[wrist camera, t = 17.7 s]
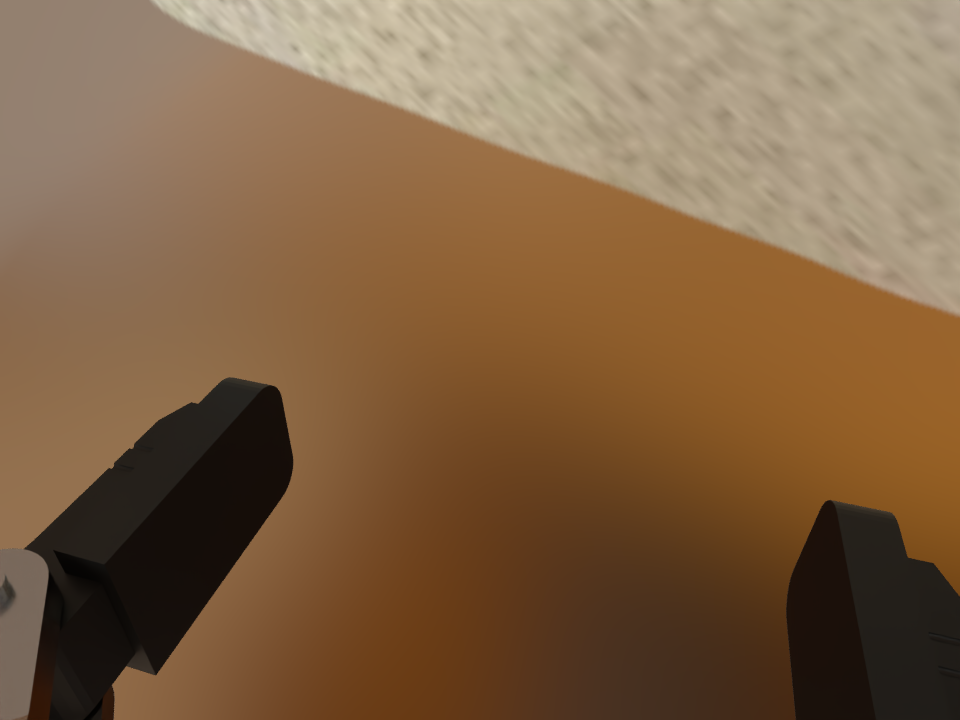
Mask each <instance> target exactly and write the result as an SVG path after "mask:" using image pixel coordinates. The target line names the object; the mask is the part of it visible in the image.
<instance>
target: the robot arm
mask: <svg viewBox="0 0 960 720" xmlns="http://www.w3.org/2000/svg"><path fill="white" fill-rule="evenodd" d="M292 470H293V454H292V449H291V444H290V439H289V433H288V428H287V423H286V418H285V412H284V407H283V402H282V397H281V394H280V391H279V390H278V389H277V388H276V387H275V386H272V385H267V384H261V383H257V382H252V381H247V380H242V379H237V378H226V379H224V380H222V381H221V382H220V383H219V384H218V385H217V386H216V387H215V388H214V389H213V390H212V391H211V392H210V393H209V394H208V395H207V396H206V397H205V398H204V399H203V400H202V401H201V402H200V403H199V404H196V403H192V402H191V403H189V404H187V405H186V406H184V407H182V408H180V409H178V410H176V411H175V412H173V413H171V414H169V415H167V416H166V417H164V418H162V419H160V420H158V422H156V423H155V424H154V425H153V426H152V427H151V428H150V429H149V430H148V431H147V432H146V433H145V434H144V435H143V436H142V437H141V438H140V439H139V440H138V441H137V442H136V443H135V444H134V448H133V449H128V450H127V451H126V452H125V453H124V454H123V455H122V456H121V457H120V458H119V459H118V460H117V461H116V462H115V463H114V467H113V468H112V469H110V468H109V469H107V470H106V471H105V472H104V473H103V474H102V475H101V476H100V477H99V478H98V479H97V480H96V481H95V482H94V483H93V484H92V485H91V486H90V487H89V488H88V489H87V490H86V491H85V492H84V493H83V494H82V495H80V496H79V497H78V498H77V499H76V500H75V501H74V502H73V503H72V504H71V505H70V506H69V507H68V508H67V509H66V510H65V511H64V512H63V513H62V514H61V515H60V516H59V517H58V518H57V519H56V520H54V521H53V522H52V523H51V524H50V525H49V526H48V527H47V528H46V529H45V530H44V531H43V532H42V533H41V534H40V535H39V536H38V537H37V538H36V539H35V540H34V541H33V542H31V543H30V544H29V545H28V546H27V547H26V548H25V549H2V550H0V720H114V701H115V698H114V690H113V687H112V684H113V683H114V681H115V680H116V679H117V677H118V676H119V675H120V673H121V672H122V671H123V670H124V668H125V667H126V666H128V667H131V668H134V669H138V670H140V671H144V672H147V673H150V674H153V675H157V673H158V671H159V670H160V669H161V667H162V666H163V665H164V663H165V662H166V660H167V659H168V658H169V656H170V655H171V653H172V652H173V651H174V649H175V648H176V646H177V645H178V644H179V642H180V641H181V639H182V638H183V637H184V635H185V634H186V632H187V631H188V629H189V628H190V627H191V625H192V624H193V622H194V621H195V619H196V618H197V617H198V615H199V614H200V613H201V611H202V609H203V608H204V607H205V605H206V604H207V603H208V601H209V600H210V598H211V597H212V596H213V594H214V593H215V591H216V590H217V589H218V587H219V586H220V584H221V583H222V581H223V580H224V579H225V577H226V576H227V574H228V573H229V572H230V570H231V569H232V567H233V566H234V565H235V563H236V562H237V560H238V559H239V558H240V556H241V555H242V553H243V552H244V550H245V549H246V548H247V546H248V545H249V543H250V542H251V541H252V539H253V538H254V536H255V535H256V534H257V532H258V531H259V529H260V528H261V526H262V525H263V524H264V522H265V521H266V519H267V518H268V516H269V515H270V514H271V512H272V511H273V509H274V508H275V507H276V505H277V504H278V502H279V501H280V500H281V498H282V497H283V495H284V494H285V492H286V490H287V488H288V485H289V482H290V479H291V476H292ZM786 618H787V629H788V640H789V651H790V662H791V672H792V683H793V694H794V705H795V716H796V720H960V596H958V594H957V593H956V592H955V590H954V589H953V588H952V586H951V585H950V584H949V582H948V581H947V580H946V579H945V577H944V576H943V575H942V574H941V572H940V571H939V570H938V568H937V567H936V566H935V565H934V564H933V563H929V562H925V561H920V560H915V559H911V558H908V557H907V554H906V550H905V547H904V543H903V540H902V536H901V532H900V529H899V525H898V522H897V520H896V518H895V516H894V515H893V514H892V513H890V512H886V511H881V510H876V509H871V508H866V507H862V506H857V505H852V504H847V503H842V502H837V501H832V500H828V501H826V502H825V503H824V504H823V506H822V507H821V509H820V511H819V514H818V516H817V518H816V520H815V523H814V525H813V527H812V530H811V532H810V534H809V536H808V538H807V541H806V543H805V545H804V547H803V550H802V552H801V554H800V557H799V559H798V561H797V563H796V566H795V568H794V570H793V573H792V576H791V579H790V583H789V588H788V595H787V607H786Z"/></svg>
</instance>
